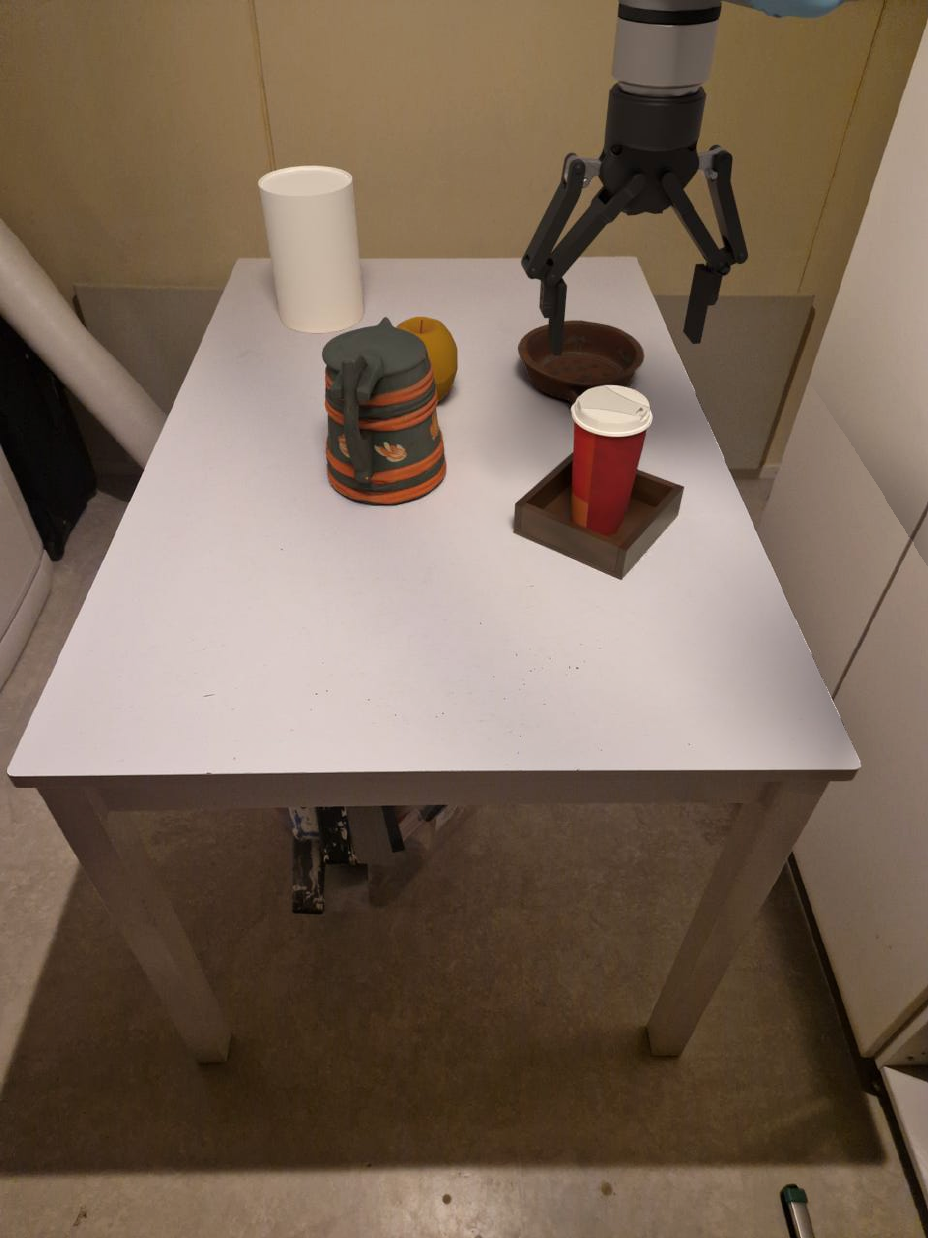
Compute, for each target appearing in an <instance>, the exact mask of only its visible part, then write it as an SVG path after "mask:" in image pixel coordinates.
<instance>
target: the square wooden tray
mask: <svg viewBox="0 0 928 1238" xmlns="http://www.w3.org/2000/svg"><path fill="white" fill-rule="evenodd" d="M572 470H573V451H572V452H571V453H570V454H568V456H566V457H565V458H564V459H563V460H562V461H561V462H560V463H559V464H558V465H556V466H555V467H554V468H553V469H552V470H551V471H550V472H548V474H546V475H545V476H544V477H543V478H542V479H541V480H539V482H538V483H536V484H535V485H534V486H533V487H532V488H531V489H529V490H528V491H527V492H526V493H525V494H524V495H523V496H521V498H519V499H518V500H517V501H516V502H515V503H514V516H513V517H514V518H513V533H514V534H516V535H518V536H520V537H523V538H525V539H526V540H529V541H531V542H534V543H535V544H538V545H541V546H543V547H545V548H548V549H550V550H552V551H554V552H557V553H559V554H561V555H564V556H566V557H568V558H570V559H573V560H575V561H577V562H579V563H581V564H583V565H586V566H589V567H591V568H592V569H595V570H597V571H600V572H603V573H604V574H606V575H609V576H611V577H613V578H615V579H618V580H621V581H622V580H623V579H624V578H625V577H626V576H627V575H628V573H629V572H630V571H631V570H632V568H634V566H635V565H636V564H637V563H638V562H639V561H640V560H641V559H642V558H643V556H644V555H645V554H646V552H648V550H649V549H650V548H651V547H652V546H654V544H655V542H656V541H658V539H659V538H660V537H661V536H662V534H663V533H664V532H665V531H666V530H667V529H668V527H669V526H671V524H672V523H673V522H674V521H675V520H676V518H677V517H678V516H679V513H680V509H681V503H682V500H683V494H684V490H685V486H683V485H681V484H679V483H678V484H677V483H675V482H673V481H670V480H667V479H664V478H663V477H659V476H657V475H655V474H651V473H648V472H646V471H644V470H641V469H639V468H637V472H636V476H635V480H634V484H633V488H632V492H631V496H630V500H629V504H628V508H627V512H626V516H625V520H624V523H623V525H622V527H621V529H620V530H619V531H617V532H616V533H614V534H611V535H607V536H605V535H602V534H600V533H598V532H595V531H593V530H590V529H588V528H586V527H583V526H581V525H578V524H576V523H574V522H572V519H571V498H572Z"/></svg>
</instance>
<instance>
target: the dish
mask: <svg viewBox="0 0 928 1238" xmlns="http://www.w3.org/2000/svg"><path fill="white" fill-rule="evenodd" d="M547 338H548V323H547V324H544V325H540V326H538V327H535V328H533V329H531V330H530V331H528V332H527V333H525V334H524V335H523V336H522V338H521V339H520V341H519V343H518V345H517V351H518V355H519V357H520V358H521V360H522V362H523V366H524V369H525V372H526V375H527V376H528V378H529V380H530V382H531V384H532V385H533V386H534V387H535V388H537V389H538V390H539V391H541V392H543V393H545V394H547V395H550V396H552V397H555V398H558V399H562V400H567V401H568V402H569V403H570V404H571V406H573V404H574V403H575V402H576V400H577V398H578V397H579V396H580V395H582V394H583V393H584V392H585V391H586V390H588V389H591V388H594V387H598V386H603V385H617V386H623V387H627V388H628V386H629V385H630V383H631V382H632V380H633V378H634V375H635V374H636V372H637V371H638V370H639V368H640V367H641V366H642V365H643V362H644V360H645V351H644V348H643V347H642V345H641V343H640V342H639V341H638V340H637V339H636V338H635V337H634V336H632V335H631V334H629V333H628V332H626V331H624V330H622V328H619V327H616V326H613V325H609V324H604V323H599V322H593V321H586V320H574V319H573V320H572V319H571V320H564V332H563V344H562V355H555V356H554V355H553V353H552V351H551V349H550V347H549V345H548V343H547Z"/></svg>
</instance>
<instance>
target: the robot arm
mask: <svg viewBox="0 0 928 1238" xmlns="http://www.w3.org/2000/svg"><path fill="white" fill-rule="evenodd" d="M858 1H860V0H618V6H617V14H616V24H615V34H614V42H613V43H614V45H613V54H612V62H611V73H610V75H611V77H612V78H613V79H614V80H615V81H617V82H616V83H614V84H613V85H612V87H611V88H610V89H609V91H608V100H607V109H606V110H607V111H606V119H605V129H604V143H603V148H602V151H601V153H600V155H599V157H598V158H589V157H580V156H578V154H577V153H575V152H569V153H567V154H566V155H565V157H564V159H563V165H562V172H561V177H560V181H559V183H558V186H557V188H556V190H555V192H554V194H553V196H552V198H551V200H550V202H549V204H548V205H547V208H546V210H545V212H544V214H543V216H542V218H541V220H540V222H539V224H538V225H537V227H536V230H535V232H534V234H533V235H532V238H531V240H530V242H529V243H528V246H527V248H526V249H525V252H524V254H523V256H522V258H521V260H520V265H521V267H522V269H523V271H524V273H525V275H526V277H527V278H528V279H530V280H539V281H540V286H539V288H540V289H539V306H538V307H539V311H540V313H541V315H542V316H543V318H544V319H548V322H547V324H548V338H547V343H548V345H549V347H550V349H551V351H552V353H553V355H554V356H555V355H562V344H563V332H564V321H565V320H566V319H565V318H566V308H567V307H566V305H567V294H568V284H567V283H566V282H565V279H564V278H563V277H564V276H565V275H566V273H567V272H568V271H569V270H570V269H571V268H572V266H573V265H574V264H575V263H576V262H577V261H578V259H579V258H580V257H581V256H582V254H583V253H584V252H586V250H587V249H588V247H589V246H590V245H591V244H592V243H593V242H594V240H595V239H596V238H597V237H598V236H599V234H600V233H601V232H602V231H603V230H604V229H605V228H606V226H607V225H609V224H611V223H613V222H614V221H615V220H616V219H617V218H618V216H619V215H620V214H621V213H623V214H625V215H626V216H628V217H631V216H638V215H641V214H644V213H647V214H648V213H649V214H653V215H659V214H661V215H662V214H663V213H664V211H666V210H667V209H669V208H671V209H672V211H673V212H674V213H675V215H676V217H677V218H678V220H679V222H680V223H681V225H682V226H683V228H684V229H685V231H686V233H687V234H688V236H689V237H690V239H691V240H692V242H693V244H694V246H695V247H696V248H697V250H698V251H699V254H701V256H702V258H703V260H705V263H695V264H694V271H693V277H692V282H691V287H690V292H689V297H688V303H687V309H686V314H685V319H684V324H683V330H682V333H683V334H684V335H685V336H686V337H687V339H688V341H690V342H691V344H692V345H700V344H701V341H702V337H703V333H704V327H705V322H706V318H707V313H708V308H709V306H711V307H712V306H715V305H716V303H717V302H718V300H719V295H720V291H721V286H722V280H723V277H725V276H727V275H729V274H730V272H731V270H732V269H731V268H732V266H734V265H735V264H737V265H742V264H745V263H746V261H748V258H749V253H748V248H747V243H746V239H745V236H744V230H743V227H742V223H741V219H740V215H739V211H738V206H737V203H736V198H735V194H734V190H733V186H732V182H731V181H732V170H733V161H734V159H733V158H734V157H733V155H732V154H731V153H730V152H729V151H728V150H727V149H725V148H724V147H722V146H721V145H719V144H713V145H712V146H710V147H709V149H708V150H705V151H701V152H698V147H697V146H698V143H699V138H700V135H701V128H702V125H703V124H702V123H703V117H704V112H705V105H706V101H707V100H706V99H707V93H706V91H705V88H704V87H703V86H702V85H703V84H705V83H706V82H707V81H708V80H709V79H710V77H711V72H712V65H713V60H714V55H715V49H716V48H715V47H716V42H717V41H716V40H717V36H718V28H719V22H720V17H721V14H722V5H723V3H722V2H725V3H729V4H732V5H736V6H741V7H744V8H748V9H753V10H756V11H758V12H763V13H764V14H765V15H766V16H769V17H772V18H777V19H781V18H785V17H793V18H802V19H818V18H822V17H825V16H827V15H830V14H832V13H833V11H835V10H836V9H838V8H839V7H840V6H841V5H842V4H844V3H851V2H858ZM699 170H700V175H701V176H702V177H703V178H704V179H705V180H706V183H707V187H708V191H709V192H708V193H709V195H710V199H711V202H712V207H713V211H714V214H715V218H716V222H717V226H718V230H719V234H720V237H721V241H722V245H723V247H721V248H719V246H718V244H717V242H716V241H715V240H714V238H713V236H712V235H711V233H710V232H709V230H708V228H707V227H706V225H705V223H704V222H703V220H702V218H701V217H700V215H699V214H698V212H697V211H696V209H695V206H694V204H693V203H692V201H691V199H690V197H689V196H688V194H687V193H686V191H685V188H686V187H687V186H688V185H689V183H690V182H691V181H692V179H693V178H694V177H695V176H696V174H697V173H698V171H699ZM596 176H597V177H598V178H599V180H600V182H601V184H602V186H601V188H600V189H599V190H597V191H598V192H596V194H595V195H594V196H593V197H592V199H591V201H590V204H589V206H588V207H587V208H586V209H585V211H584V212H583V214H582V215H581V216H580V217H579V218H578V220H576V222H575V223H574V225H572V227H571V228H570V229H569V230H568V232H567V233H565V235H564V236H563V238H562V239H561V240H560V241H559V242H558V240H559V239H560V237H561V234H562V232H563V230H564V229H565V227H566V225H567V223H568V222H569V219H570V217H571V215H572V213H573V211H574V210H575V208H576V205H577V203H578V202H579V200H580V197H581V194H582V191H583V189H586V188H587V187H589V185H590V183H591V180H592V179H593V178H594V177H596ZM557 242H558V243H557ZM556 244H557V245H556Z"/></svg>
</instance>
